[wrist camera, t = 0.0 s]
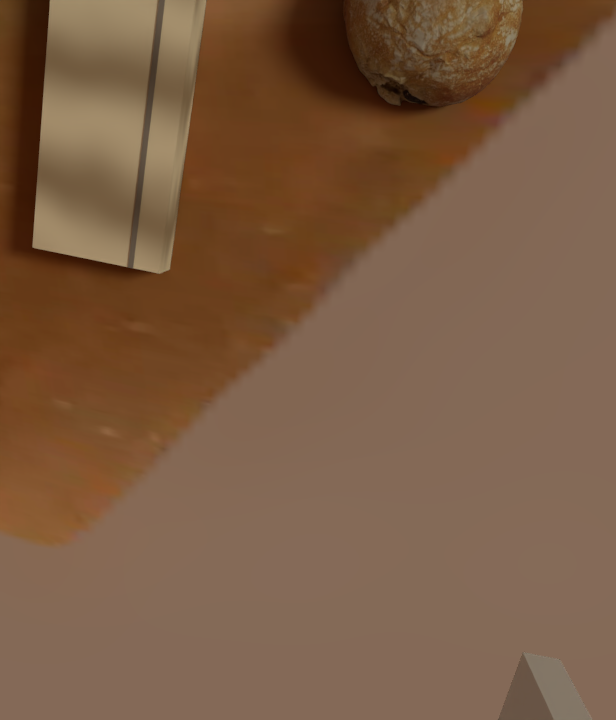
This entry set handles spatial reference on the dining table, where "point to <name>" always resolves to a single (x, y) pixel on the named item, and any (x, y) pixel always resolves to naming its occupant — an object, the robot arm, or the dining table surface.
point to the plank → (116, 128)
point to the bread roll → (431, 46)
